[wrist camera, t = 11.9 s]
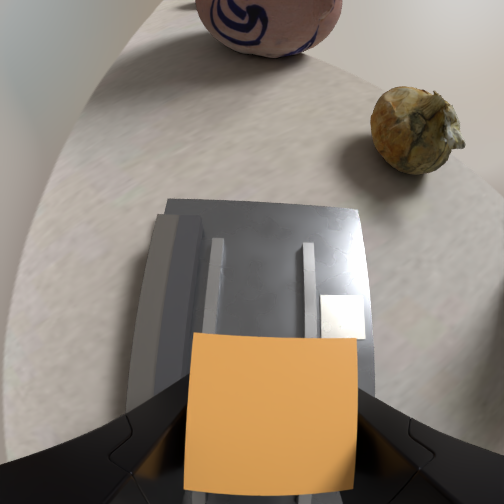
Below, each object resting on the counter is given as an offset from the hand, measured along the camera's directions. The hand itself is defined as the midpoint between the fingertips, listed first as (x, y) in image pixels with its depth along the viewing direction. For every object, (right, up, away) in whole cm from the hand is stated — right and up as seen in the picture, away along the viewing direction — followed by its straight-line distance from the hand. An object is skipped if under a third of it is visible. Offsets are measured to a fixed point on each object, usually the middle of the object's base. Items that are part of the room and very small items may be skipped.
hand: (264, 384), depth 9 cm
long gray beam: (-5, -1, +5) cm, 7 cm away
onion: (+13, +12, +14) cm, 23 cm away
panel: (0, -2, +6) cm, 7 cm away
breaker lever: (0, -3, +4) cm, 5 cm away
